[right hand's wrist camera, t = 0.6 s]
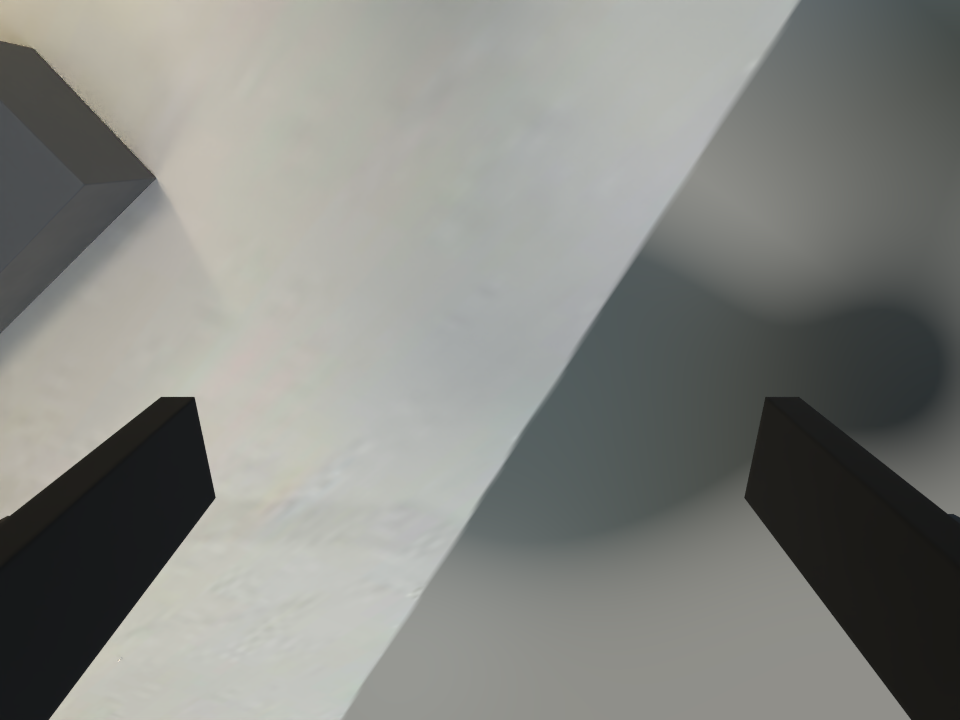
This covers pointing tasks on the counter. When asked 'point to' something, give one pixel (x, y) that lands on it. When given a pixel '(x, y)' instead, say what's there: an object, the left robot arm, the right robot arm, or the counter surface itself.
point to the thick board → (52, 177)
